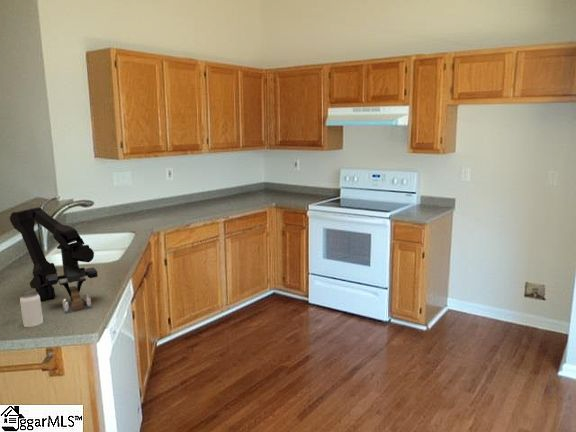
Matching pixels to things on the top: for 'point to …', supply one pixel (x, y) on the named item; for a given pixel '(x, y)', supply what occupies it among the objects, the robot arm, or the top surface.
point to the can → (31, 309)
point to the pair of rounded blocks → (86, 299)
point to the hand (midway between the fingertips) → (74, 295)
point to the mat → (76, 310)
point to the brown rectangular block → (75, 299)
